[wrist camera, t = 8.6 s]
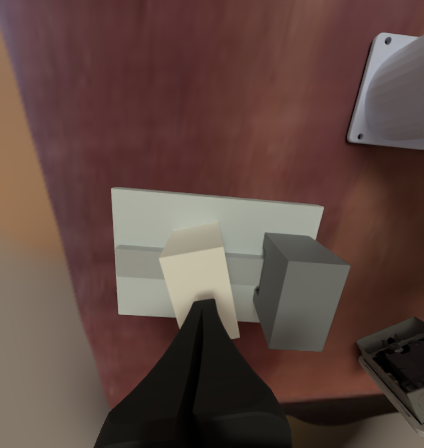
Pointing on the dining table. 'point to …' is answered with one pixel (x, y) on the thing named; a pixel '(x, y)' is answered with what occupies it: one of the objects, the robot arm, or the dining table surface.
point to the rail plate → (234, 260)
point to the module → (198, 273)
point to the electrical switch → (398, 367)
